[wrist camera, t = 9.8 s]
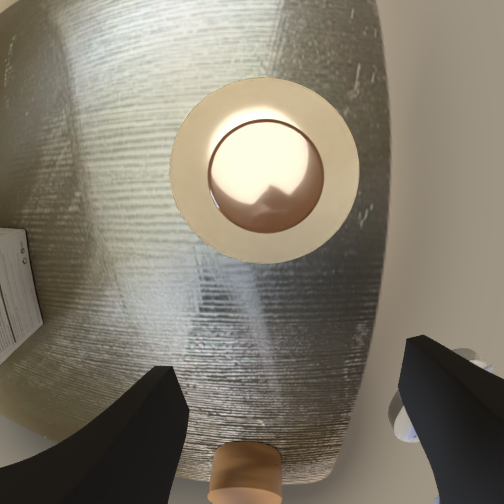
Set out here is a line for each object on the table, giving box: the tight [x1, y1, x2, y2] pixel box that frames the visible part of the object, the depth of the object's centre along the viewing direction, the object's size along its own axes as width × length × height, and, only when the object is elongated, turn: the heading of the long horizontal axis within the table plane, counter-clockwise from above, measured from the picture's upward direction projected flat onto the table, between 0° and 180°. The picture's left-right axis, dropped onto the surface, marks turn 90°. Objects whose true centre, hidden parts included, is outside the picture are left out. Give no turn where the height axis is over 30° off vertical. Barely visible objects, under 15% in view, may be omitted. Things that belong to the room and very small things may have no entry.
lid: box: [170, 78, 359, 264], centre depth 8 cm, size 7×7×5 cm
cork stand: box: [208, 441, 282, 504], centre depth 22 cm, size 7×7×6 cm
